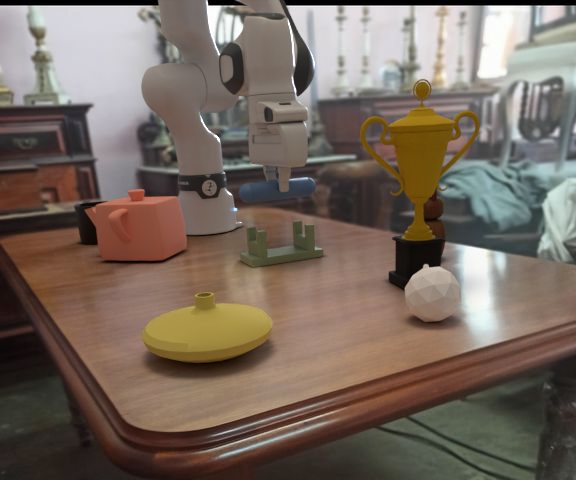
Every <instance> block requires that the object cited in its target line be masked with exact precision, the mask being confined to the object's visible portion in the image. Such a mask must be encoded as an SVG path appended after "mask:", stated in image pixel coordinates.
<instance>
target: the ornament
mask: <svg viewBox="0 0 576 480" xmlns="http://www.w3.org/2000/svg"><path fill="white" fill-rule="evenodd" d="M461 287H462V286H461V284H460V283H459V281H458V279H457V278H456V277H455V275H454V274H453V273H452V272H450V271H449V270H447V269H445V268H443V267H442V266H441V267H430V268H429V265H428V264H425V265H424V266H423V269H421V270H420V271H418V272H417V273H415V274H414V275H413V276H412V277H411V279H410V280H409V282H408V284H407V285H406V287H405V289H404V297H405V298H404V299H405V304H406V306H407V308H408V310H409V312H410V313H411V314H412V315H413V316H415V317H417V318H418V319H420V320H421V321H423V322H424V323H431V322H440V321H443V320H445V319H446V318H448V317H450V316H452V315H454V313H455V312H456V310H457V309H458V307H459V305H460V304H461V302H462V290H461V289H462V288H461Z"/></svg>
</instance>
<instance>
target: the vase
mask: <svg viewBox="0 0 576 480" xmlns="http://www.w3.org/2000/svg"><path fill="white" fill-rule="evenodd" d="M194 301H195V302H194V303H195V305H191V306H186V307H182V308H178V309H174V310H171V311H168V312H165V313H163V314H160V315H158V316H156V317H154V318H152V319H151V320H150V321H149V322H148V324H147V325H146V326H145V327H144V329H143V330H142V332H141V341H142V342H143V344H144V346H145V347H146V349H147V350H148V351H149V352H150V353H151V354H154V355H156V356H158V357H161V358H164V359H169V360H173V361H177V362H178V361H179V362H182V363H190V364H192V363H193V364H201V363H215V362H222V361H225V360H226V361H227V360H230V359H235V358H236V357H239V356H241V355H244V354H246V353H248V352H250V351H252V350H254V349H256V348H258V347H259V346H261V345H263V344H264V343H266V341H267V340H269V338H270V337H271V333H272V330H273V325H274V321H273V320H272V318H271V316H269V314H268V313H267V312H265V311H264V310H262V309H261V308H259V307H256V306H252V305H248V304H242V303H241V304H240V303H227V302H226V303H216V300H215V294H214V292H210V291H205V292H204V291H203V292H198V293H196V294H194Z"/></svg>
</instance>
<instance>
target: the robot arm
mask: <svg viewBox="0 0 576 480" xmlns="http://www.w3.org/2000/svg"><path fill="white" fill-rule="evenodd" d="M235 1H236V2H238V3H241V4H243V5H245V6H247V7H249V8H250V9H252V10H253V11H254V12H251V13H248V14H247V15H245V16H244V18H243V25H242V30H241V32H240V34H239V35H238V36H237V37H236V38H235V39H234V40H233V41H230V42H228V43H227V44H226V46H225V47H224V48H223V49H222V51H221V53H220V51H219V49H218V46H217V44H216V41H215V37H214V36H213V32H212V26H211V18H210V11H209V3H208V0H157V2H158V9H159V18H160V27H161V32H162V35H163V36H164V38H165V40H166V41H167V42H169V43H170V44H171V45H173V46H174V47H175V48H176V49H177V50H178V52H179V54H180V55H181V57H182V60H183V62H181V63H179V62H175V63H174V62H168V63H167V62H166V63H161V64H157V65H154V66H150V67H148V68H147V69H146V71H145V72H144V74H143V76H142V79H141V83H140V86H141V87H140V88H141V89H140V91H141V95H142V99H143V100H144V103H145V104H146V106H147V107H148V108H149V110H151V111H152V112H153V113H155V114H156V115H157V116H158V117H159V118H160V120H161V121H162V122H163V123H164V124H165V126H166V128H167V129H168V132H169V134H170V136H171V138H172V140H173V144H174V149H175V154H176V160H177V161H176V162H177V167H178V175H177V188H178V190H179V191H178V195H177V197H178V199H179V203H180V207H181V211H182V215H183V219H184V225H185V230H186V236H202V235H203V236H205V235H212V234H213V235H215V234H221V233H227V232H230V231H234V230H235V229H237V228H240V227H243V222H242V221H238V220H237V214H236V212H238V208H237V207H235V199H234V195H233V194H232V193H231V192H230V191H228V189H227V186H228V185H227V184H228V183H227V181H228V180H227V177H226V174H227V173H226V172H225V170H224V161H223V160H224V159H223V151H222V150H223V149H222V143H221V139H220V138H219V137H218V135H217V134H216V133H214V132H212V131H211V130H209V129H208V128H207V126H206V125H205V123H204V120H203V118H202V115H201V114H216V113H218V114H219V113H220V112H224V111H227V110H230V109H232V108H233V107H235V106H236V104H237V103H238V101H239V98H240V97H247V105H248V107H247V108H248V109H247V110H248V119H249V120H248V121H249V124H250V125H249V128H248V157H249V161H250V164H252V165H256V166H257V165H258V166H262V169H263V174H264V177H265V179H266V181H275V180H278V182H277V190H278V191H279V192H287V191H289V179H291V174H292V168H301V167H305V166H306V165H307V161H308V155H309V145H308V144H309V143H308V142H309V138H308V127H307V124H306V121H308V120H309V109H308V107H307V106H305V105H304V104H302V103H301V102H300V101H299V100H298V99H297V97H299V96H301V95H302V94H304V93H305V92H306V90H307V89H309V87H310V86H311V84H312V82H313V80H314V78H315V73H316V71H315V70H316V65H315V64H316V63H315V59H314V56H313V54H312V52H311V49H310V47H309V45H308V44H307V43H306V42H305V40H304V39H303V37H302V36H301V33H300V32H299V30H298V28H297V26H296V24H295V22H294V19H293V18H292V17H293V16H292V15H291V12H290V11H289V8H288V6H287V4H286V2H285V0H235ZM276 171H277V172H276ZM276 173H278V179H277V174H276Z"/></svg>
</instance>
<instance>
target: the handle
mask: <svg viewBox="0 0 576 480" xmlns="http://www.w3.org/2000/svg"><path fill="white" fill-rule="evenodd" d="M278 180H279V179H277V180H275V181H267V180H266V181H258V182H249V183H248V182H247V183H244V184H242V185H241V186H240V187H239V190H238V197H239V198H240V200H241V201H242V202H243V203H245V204H255V203H263V202H273V201H280V200H290V199H297V198H306V197H311V196H313V195H314V194H315V192H316V189H317V184H316V182H315V181H314V179H313V178H311V177H309V176H308V177H307V176H306V177H296V178H295V177H294V178H290V179H289V191H287V192H279V191H278V190H277V182H278Z"/></svg>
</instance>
